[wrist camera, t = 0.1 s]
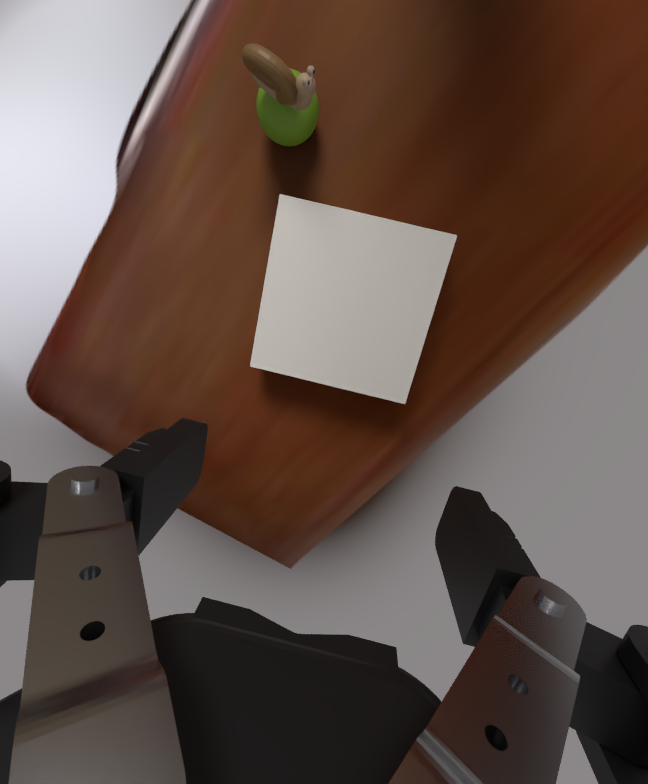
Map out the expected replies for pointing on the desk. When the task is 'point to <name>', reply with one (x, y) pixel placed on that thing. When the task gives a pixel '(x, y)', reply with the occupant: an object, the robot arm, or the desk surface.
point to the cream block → (348, 298)
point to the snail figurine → (282, 97)
